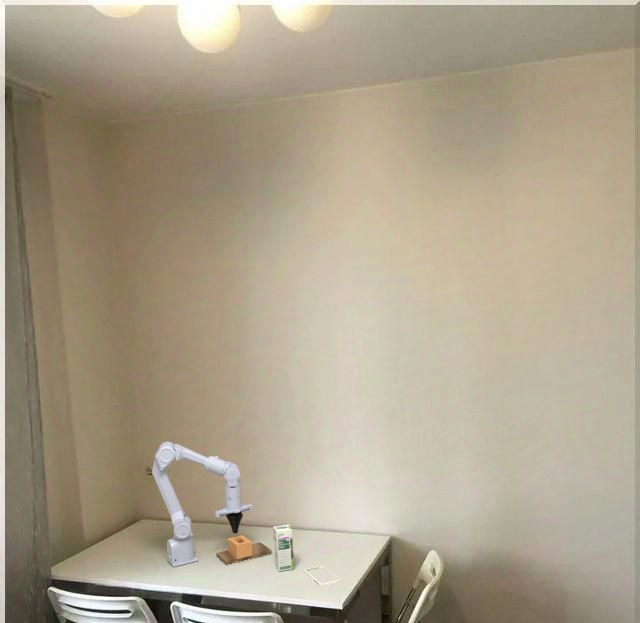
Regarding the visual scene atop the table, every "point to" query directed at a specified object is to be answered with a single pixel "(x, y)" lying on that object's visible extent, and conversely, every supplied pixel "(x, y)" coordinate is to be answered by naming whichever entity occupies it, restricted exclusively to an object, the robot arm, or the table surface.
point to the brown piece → (257, 551)
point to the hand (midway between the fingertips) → (235, 532)
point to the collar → (239, 547)
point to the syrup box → (283, 547)
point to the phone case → (326, 570)
